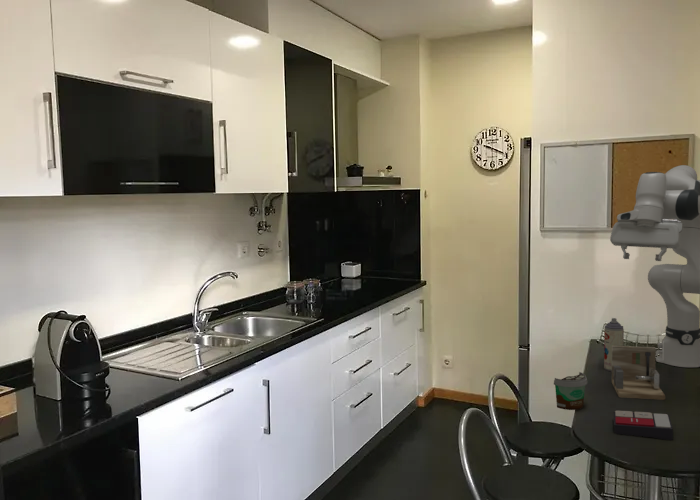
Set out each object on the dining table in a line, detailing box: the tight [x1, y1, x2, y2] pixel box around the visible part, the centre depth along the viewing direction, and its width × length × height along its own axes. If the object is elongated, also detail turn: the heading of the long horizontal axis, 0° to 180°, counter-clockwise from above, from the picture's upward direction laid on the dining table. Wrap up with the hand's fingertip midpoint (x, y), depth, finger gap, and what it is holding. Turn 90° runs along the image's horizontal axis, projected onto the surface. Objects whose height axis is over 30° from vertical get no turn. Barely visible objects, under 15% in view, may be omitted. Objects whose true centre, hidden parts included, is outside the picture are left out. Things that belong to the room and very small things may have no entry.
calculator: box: [613, 410, 674, 441], centre depth 173 cm, size 11×4×15 cm
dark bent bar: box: [645, 352, 651, 382], centre depth 207 cm, size 3×2×10 cm, turn 164°
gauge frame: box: [611, 345, 666, 401], centre depth 204 cm, size 16×14×14 cm
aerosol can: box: [603, 317, 625, 373], centre depth 228 cm, size 7×7×20 cm
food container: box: [553, 371, 588, 411], centre depth 191 cm, size 12×6×10 cm, turn 118°
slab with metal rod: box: [635, 368, 660, 389], centre depth 205 cm, size 8×7×5 cm
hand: (641, 259), depth 189 cm, fingers open, 8 cm apart
